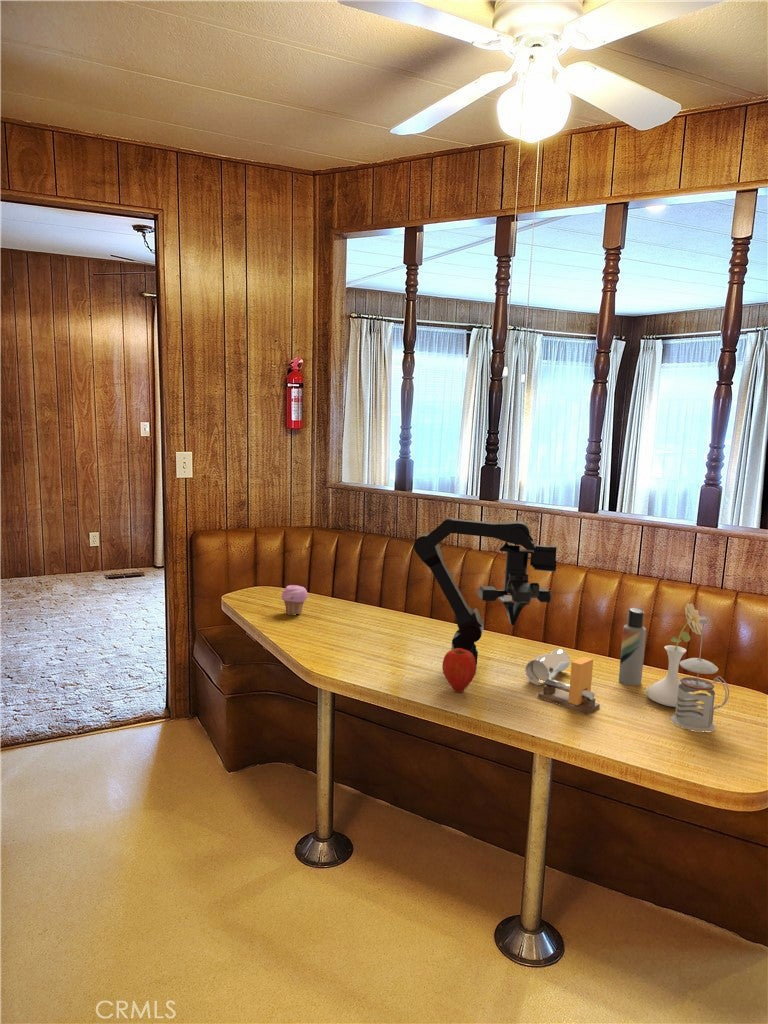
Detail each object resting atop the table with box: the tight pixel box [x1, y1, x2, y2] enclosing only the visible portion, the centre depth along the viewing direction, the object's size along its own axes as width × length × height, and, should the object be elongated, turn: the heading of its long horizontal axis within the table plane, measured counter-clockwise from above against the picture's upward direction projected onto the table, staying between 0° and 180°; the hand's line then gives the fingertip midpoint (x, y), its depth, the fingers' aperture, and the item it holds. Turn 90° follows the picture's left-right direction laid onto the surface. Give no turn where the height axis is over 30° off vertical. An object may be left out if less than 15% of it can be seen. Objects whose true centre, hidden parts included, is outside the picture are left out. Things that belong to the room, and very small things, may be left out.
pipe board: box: [537, 684, 601, 715], centre depth 168 cm, size 13×8×5 cm, turn 45°
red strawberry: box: [441, 648, 477, 693], centre depth 171 cm, size 9×8×11 cm
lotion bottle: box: [618, 607, 647, 687], centre depth 182 cm, size 6×6×20 cm
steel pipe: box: [545, 678, 595, 700], centre depth 167 cm, size 12×2×2 cm, turn 45°
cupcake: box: [281, 584, 308, 616], centre depth 233 cm, size 9×9×10 cm
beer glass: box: [525, 648, 571, 686], centre depth 183 cm, size 7×7×15 cm
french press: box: [669, 617, 730, 733], centre depth 156 cm, size 10×12×25 cm
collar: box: [568, 656, 594, 705], centre depth 164 cm, size 2×6×10 cm, turn 135°
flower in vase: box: [645, 602, 705, 708], centre depth 169 cm, size 13×11×25 cm
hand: (512, 625), depth 185 cm, fingers closed
